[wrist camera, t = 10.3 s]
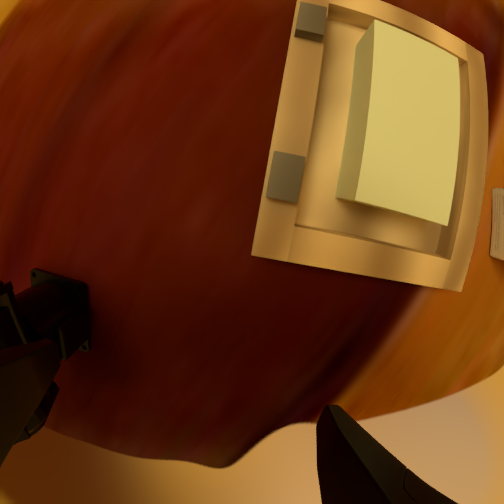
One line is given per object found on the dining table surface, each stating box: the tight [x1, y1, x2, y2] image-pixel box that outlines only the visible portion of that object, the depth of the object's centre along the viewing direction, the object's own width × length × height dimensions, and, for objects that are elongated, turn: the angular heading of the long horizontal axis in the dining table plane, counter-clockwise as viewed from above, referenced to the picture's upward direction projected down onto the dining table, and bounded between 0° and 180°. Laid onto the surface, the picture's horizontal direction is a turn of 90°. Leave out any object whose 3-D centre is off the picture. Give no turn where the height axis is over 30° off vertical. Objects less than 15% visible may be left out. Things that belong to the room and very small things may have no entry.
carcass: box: [251, 0, 488, 292], centre depth 15 cm, size 15×19×4 cm
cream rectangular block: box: [335, 19, 460, 226], centre depth 14 cm, size 6×11×4 cm, turn 170°
